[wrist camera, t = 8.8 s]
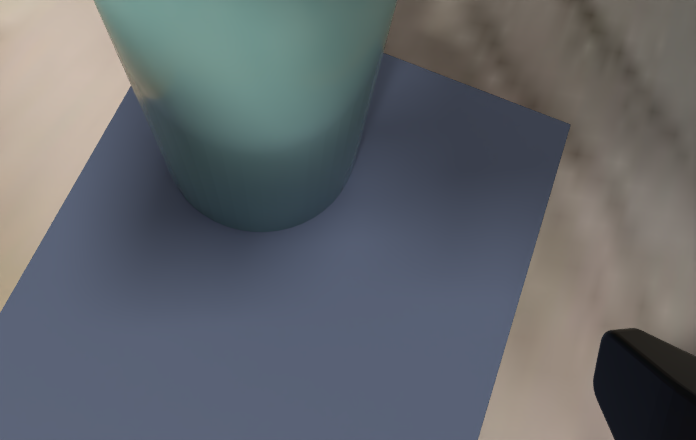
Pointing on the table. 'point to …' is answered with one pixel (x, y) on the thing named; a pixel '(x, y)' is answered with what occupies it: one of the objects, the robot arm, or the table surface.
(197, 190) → the teal smooth upright cylinder
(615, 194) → the table surface
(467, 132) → the book
